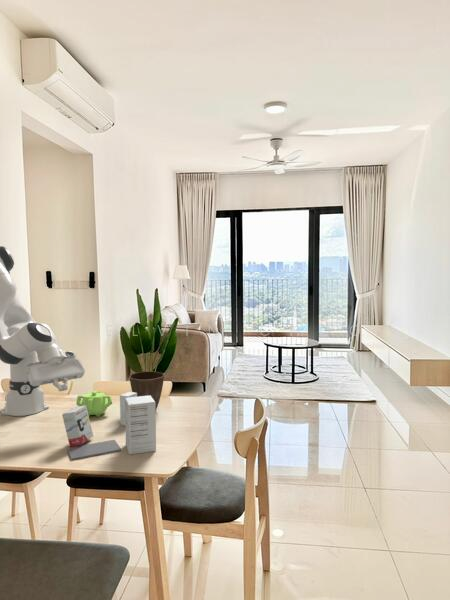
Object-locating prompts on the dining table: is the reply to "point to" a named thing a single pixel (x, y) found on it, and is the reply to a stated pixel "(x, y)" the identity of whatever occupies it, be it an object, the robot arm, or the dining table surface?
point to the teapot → (95, 402)
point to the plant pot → (147, 384)
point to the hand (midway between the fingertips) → (63, 389)
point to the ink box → (77, 425)
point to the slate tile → (93, 449)
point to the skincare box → (122, 405)
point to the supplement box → (140, 424)
